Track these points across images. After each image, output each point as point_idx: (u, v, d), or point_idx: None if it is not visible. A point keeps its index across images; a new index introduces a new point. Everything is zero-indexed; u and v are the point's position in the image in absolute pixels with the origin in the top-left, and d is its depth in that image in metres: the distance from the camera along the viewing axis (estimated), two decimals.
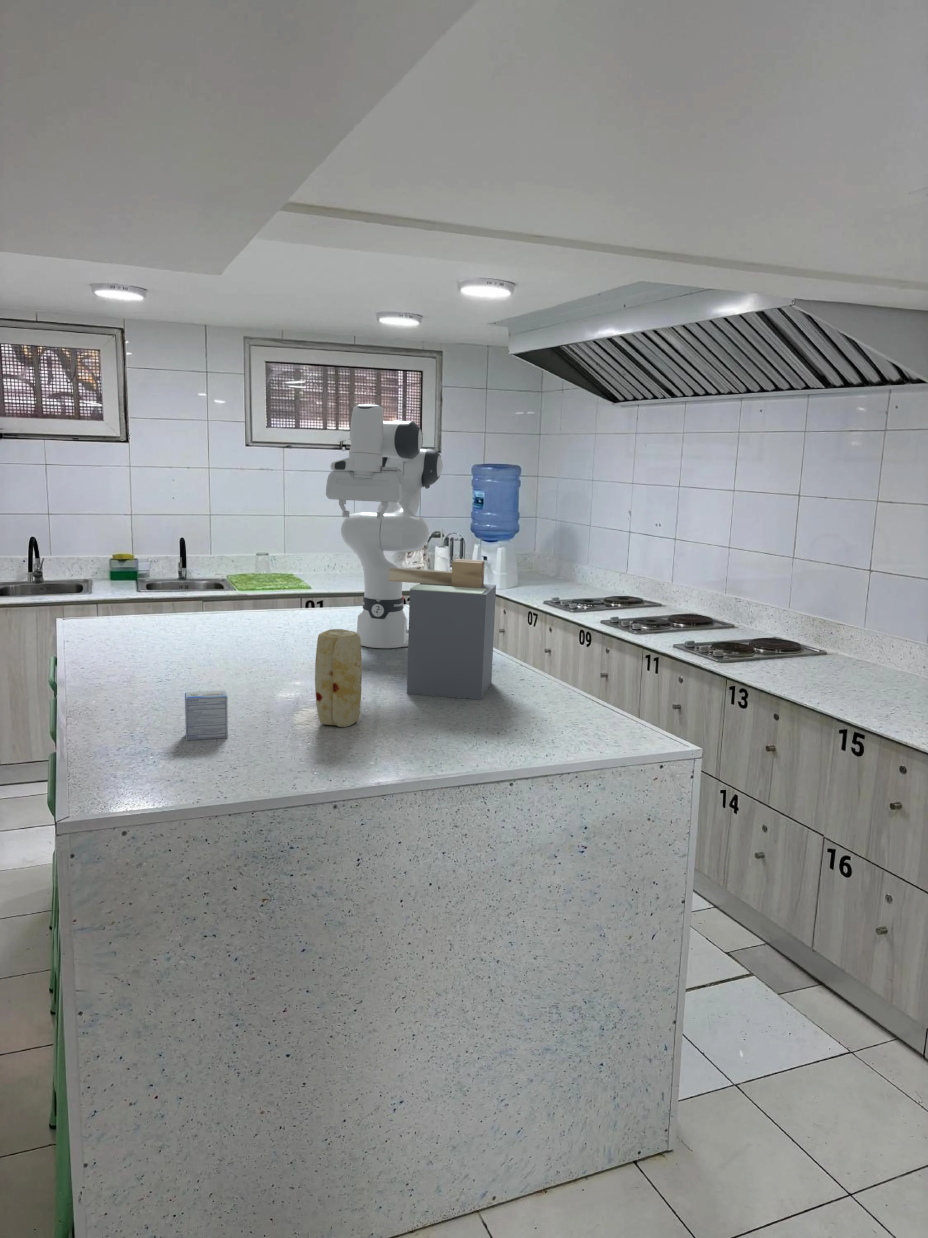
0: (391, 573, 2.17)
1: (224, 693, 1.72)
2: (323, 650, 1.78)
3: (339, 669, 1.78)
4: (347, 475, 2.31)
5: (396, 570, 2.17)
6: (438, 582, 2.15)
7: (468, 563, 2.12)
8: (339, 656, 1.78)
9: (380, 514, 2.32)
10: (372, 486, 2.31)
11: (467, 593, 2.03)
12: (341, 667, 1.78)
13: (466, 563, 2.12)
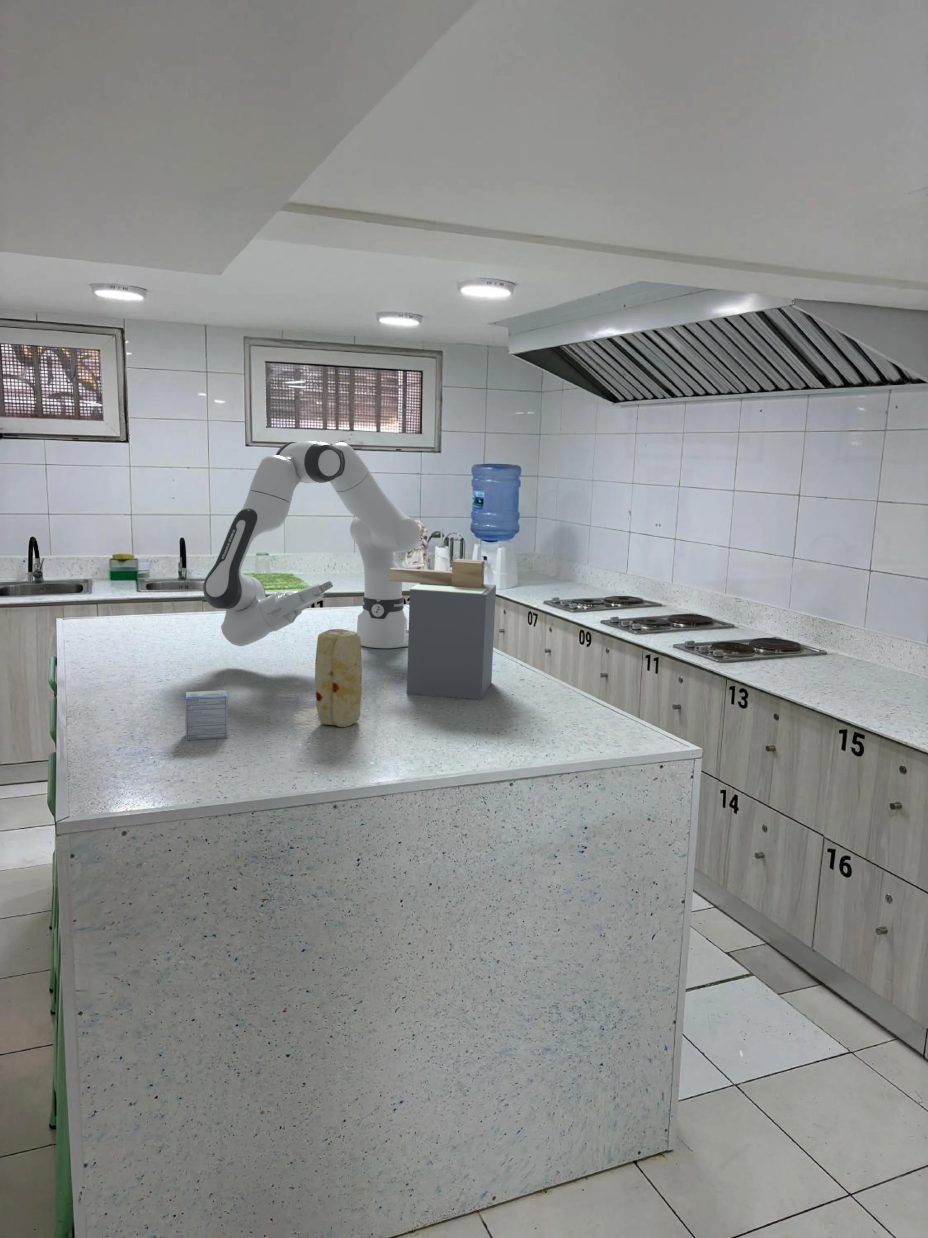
0: (391, 573, 2.17)
1: (224, 693, 1.72)
2: (323, 650, 1.78)
3: (339, 669, 1.78)
4: (299, 611, 2.29)
5: (396, 570, 2.17)
6: (438, 582, 2.15)
7: (468, 563, 2.12)
8: (339, 656, 1.78)
9: (316, 594, 2.18)
10: None
11: (467, 593, 2.03)
12: (341, 667, 1.78)
13: (466, 563, 2.12)
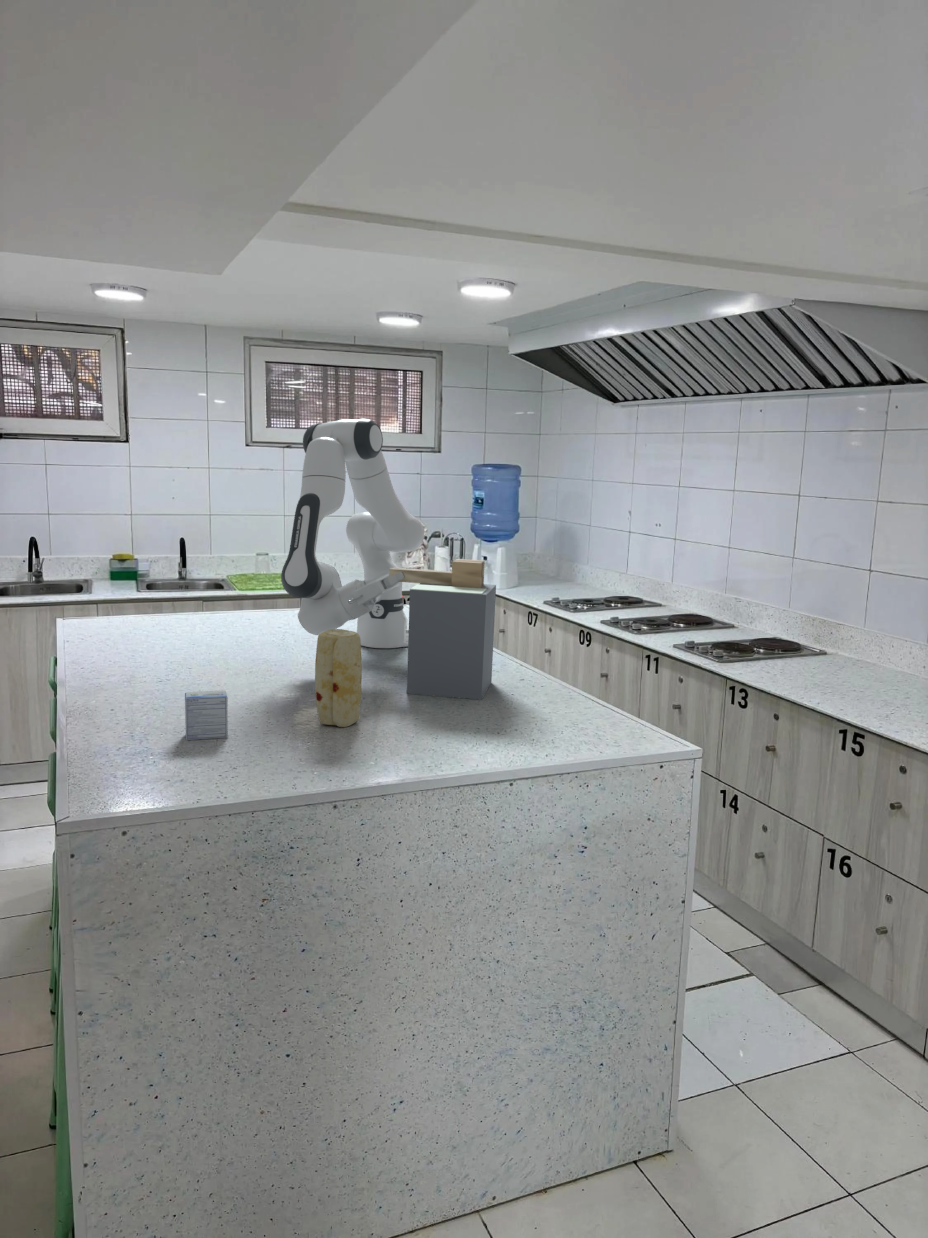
0: (391, 573, 2.17)
1: (224, 693, 1.72)
2: (323, 650, 1.78)
3: (339, 669, 1.78)
4: (377, 599, 2.25)
5: (396, 570, 2.17)
6: (438, 582, 2.15)
7: (468, 563, 2.12)
8: (339, 656, 1.78)
9: None
10: None
11: (467, 593, 2.03)
12: (341, 667, 1.78)
13: (466, 563, 2.12)
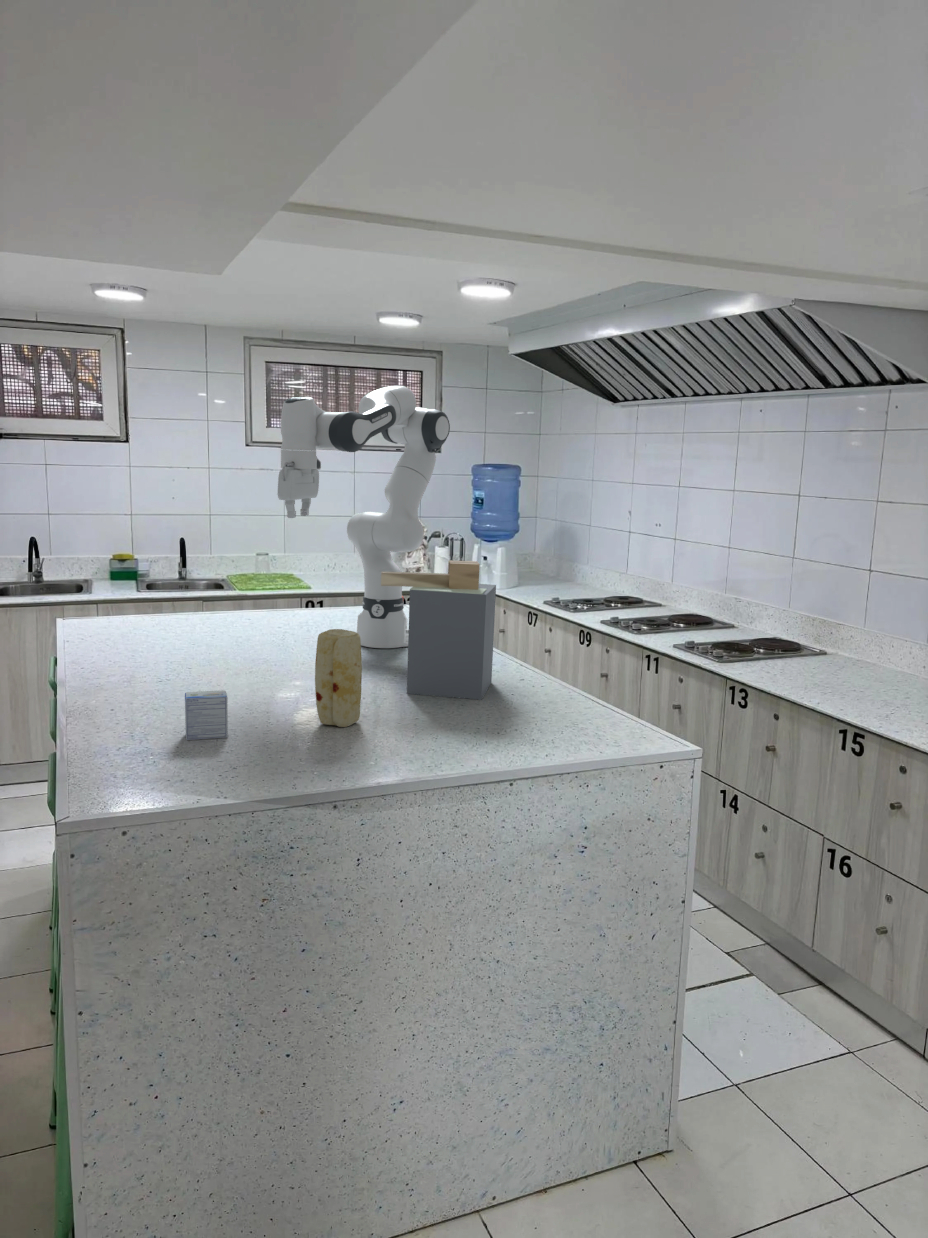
0: (384, 578, 2.08)
1: (224, 693, 1.72)
2: (323, 650, 1.78)
3: (339, 669, 1.78)
4: None
5: (389, 574, 2.08)
6: (433, 585, 2.09)
7: (466, 564, 2.07)
8: (339, 656, 1.78)
9: None
10: None
11: (467, 593, 2.03)
12: (341, 667, 1.78)
13: (464, 565, 2.07)
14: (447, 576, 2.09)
